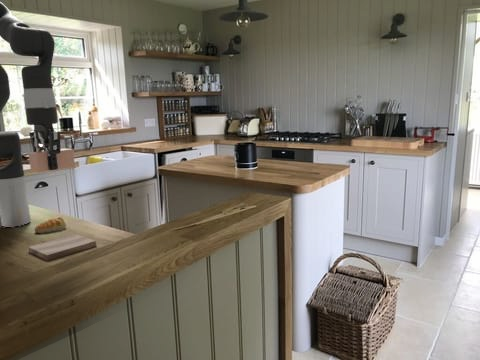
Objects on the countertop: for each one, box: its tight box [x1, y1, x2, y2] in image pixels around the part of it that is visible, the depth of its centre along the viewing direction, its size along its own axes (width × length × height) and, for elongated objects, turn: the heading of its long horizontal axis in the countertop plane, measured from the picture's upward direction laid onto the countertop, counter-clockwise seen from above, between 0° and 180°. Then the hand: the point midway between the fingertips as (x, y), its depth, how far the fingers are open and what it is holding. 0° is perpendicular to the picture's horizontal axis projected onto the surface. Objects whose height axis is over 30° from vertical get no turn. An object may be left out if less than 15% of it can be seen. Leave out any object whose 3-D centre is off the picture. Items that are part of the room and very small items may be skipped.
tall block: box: [28, 148, 76, 173], centre depth 112 cm, size 5×5×10 cm
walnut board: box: [27, 233, 97, 261], centre depth 116 cm, size 12×14×2 cm
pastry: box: [34, 216, 67, 234], centre depth 136 cm, size 9×7×4 cm
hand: (48, 168), depth 112 cm, fingers closed on tall block, 5 cm apart
